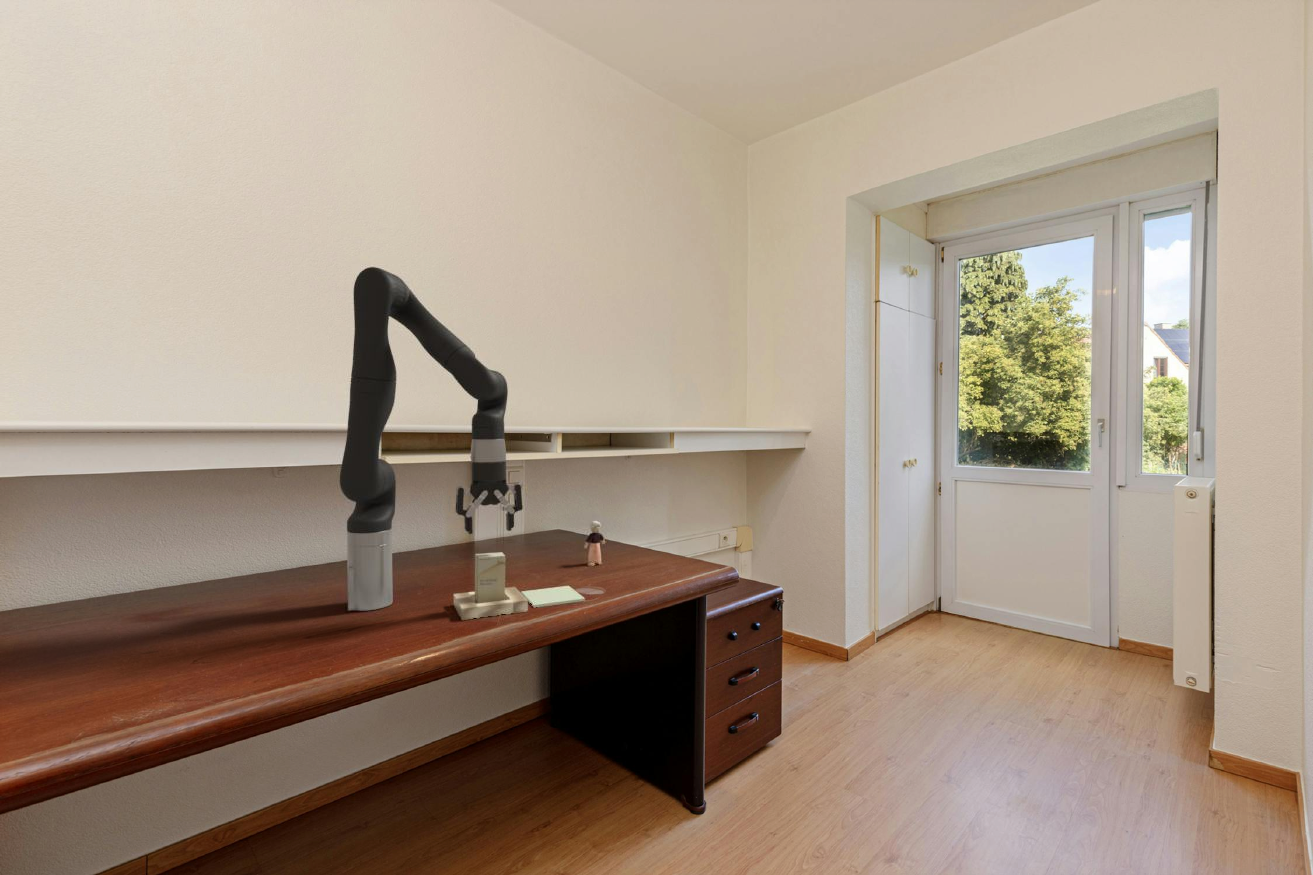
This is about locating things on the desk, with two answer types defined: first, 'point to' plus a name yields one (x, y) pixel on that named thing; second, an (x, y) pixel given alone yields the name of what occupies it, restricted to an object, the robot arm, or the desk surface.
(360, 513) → the robot arm
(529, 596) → the pad
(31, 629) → the desk surface
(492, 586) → the skincare box
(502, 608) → the pocket holder
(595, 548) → the grandmother figurine
